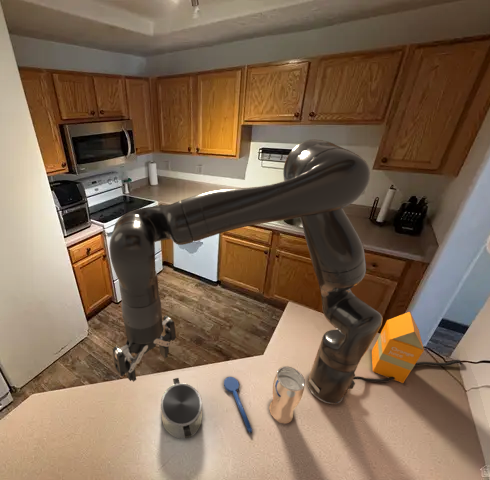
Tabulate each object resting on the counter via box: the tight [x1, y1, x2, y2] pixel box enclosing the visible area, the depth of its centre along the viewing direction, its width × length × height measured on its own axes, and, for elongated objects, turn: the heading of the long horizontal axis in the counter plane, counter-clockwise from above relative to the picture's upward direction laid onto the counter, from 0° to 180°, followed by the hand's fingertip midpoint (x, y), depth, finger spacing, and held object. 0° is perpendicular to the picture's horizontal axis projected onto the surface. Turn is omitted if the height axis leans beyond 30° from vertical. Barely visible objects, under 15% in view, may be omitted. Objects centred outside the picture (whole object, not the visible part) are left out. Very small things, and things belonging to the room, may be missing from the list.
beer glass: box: [269, 365, 306, 424], centre depth 68 cm, size 7×7×15 cm
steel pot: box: [160, 377, 203, 439], centre depth 70 cm, size 11×15×6 cm
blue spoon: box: [223, 376, 253, 433], centre depth 73 cm, size 4×15×1 cm, turn 12°
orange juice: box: [371, 311, 425, 384], centre depth 77 cm, size 8×9×20 cm
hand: (148, 366), depth 58 cm, fingers open, 8 cm apart
